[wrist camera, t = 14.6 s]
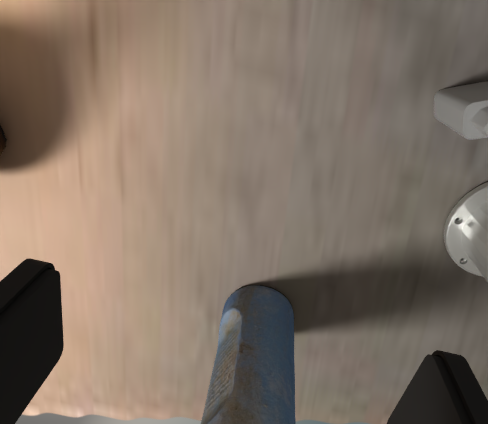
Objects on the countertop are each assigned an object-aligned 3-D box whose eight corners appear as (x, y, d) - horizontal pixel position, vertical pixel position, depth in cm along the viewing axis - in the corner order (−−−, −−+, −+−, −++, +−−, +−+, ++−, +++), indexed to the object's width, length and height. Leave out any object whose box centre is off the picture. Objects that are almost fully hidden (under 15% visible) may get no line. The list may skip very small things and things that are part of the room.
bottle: (248, 271, 49) (199, 564, 22) (309, 308, 51) (329, 622, 24) (211, 315, 53) (132, 607, 27) (268, 347, 55) (247, 654, 28)
